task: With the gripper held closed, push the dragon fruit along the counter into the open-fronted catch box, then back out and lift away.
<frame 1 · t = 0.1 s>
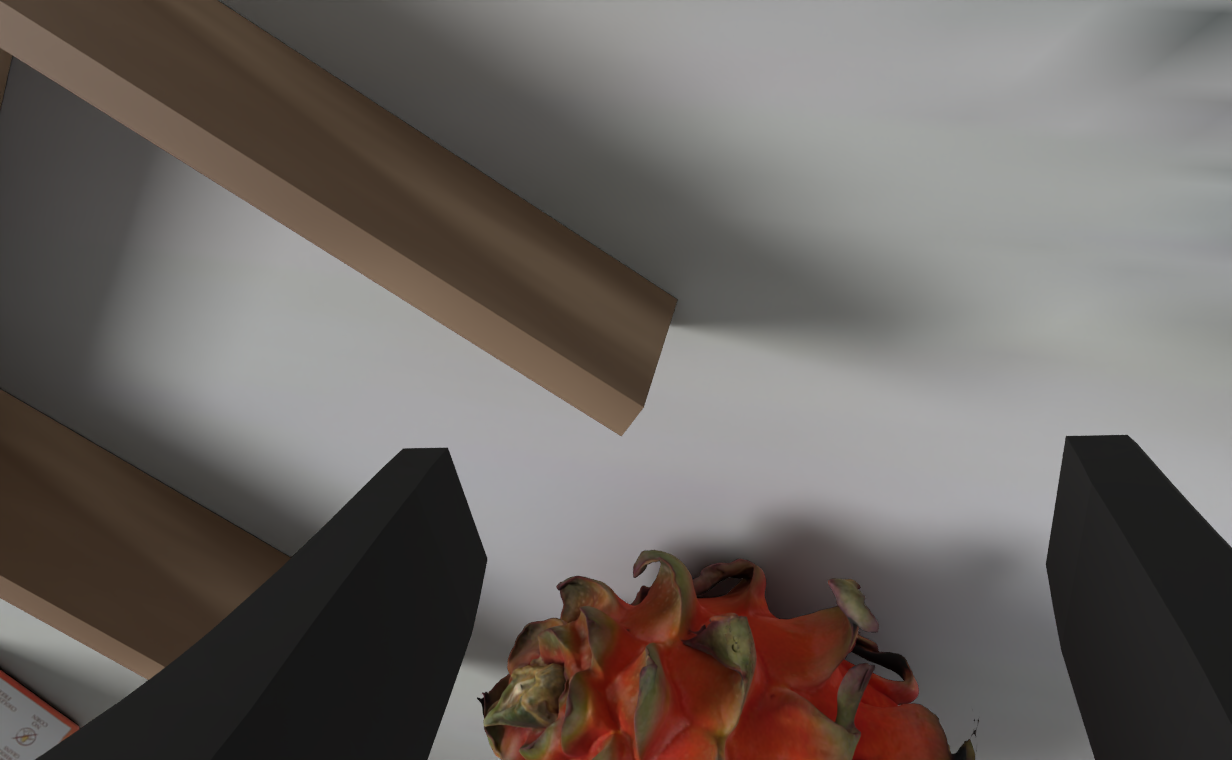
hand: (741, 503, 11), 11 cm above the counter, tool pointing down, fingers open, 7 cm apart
catch box: (254, 334, 24), on the counter
dragon fruit: (733, 618, 26), on the counter
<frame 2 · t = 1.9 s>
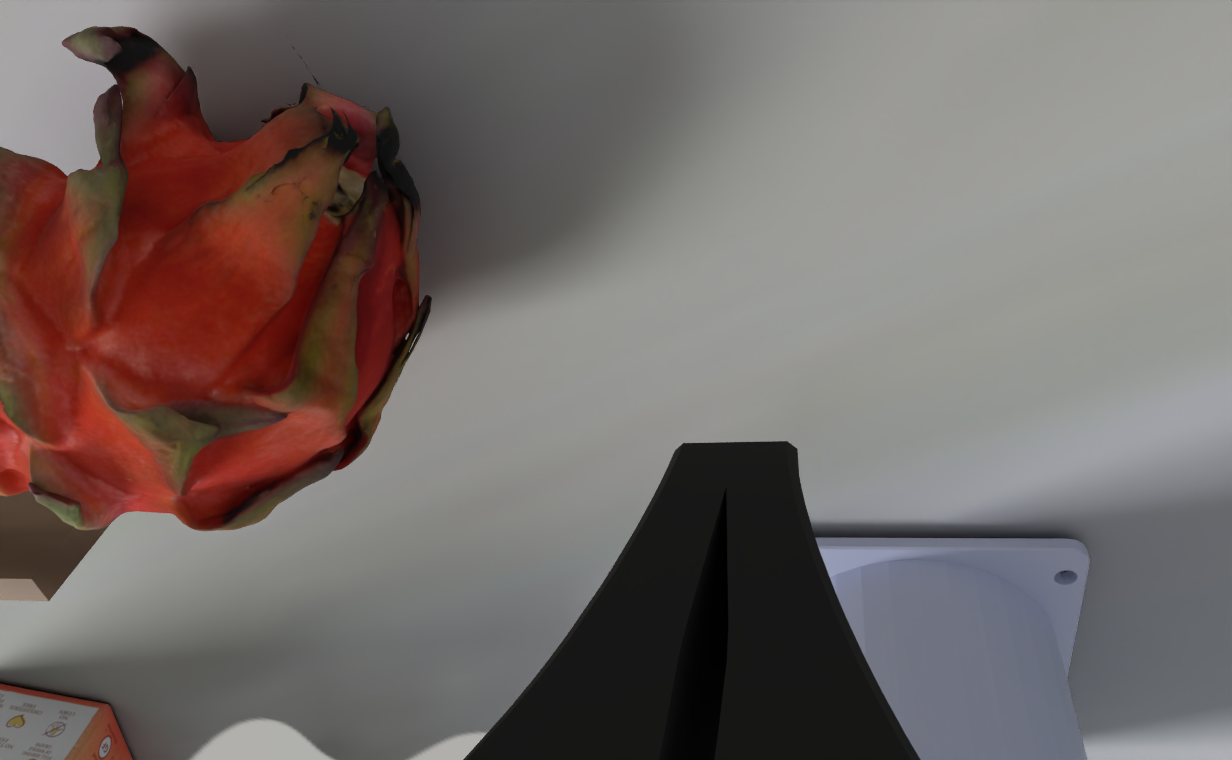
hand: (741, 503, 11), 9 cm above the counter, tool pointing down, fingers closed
dragon fruit: (274, 209, 21), on the counter
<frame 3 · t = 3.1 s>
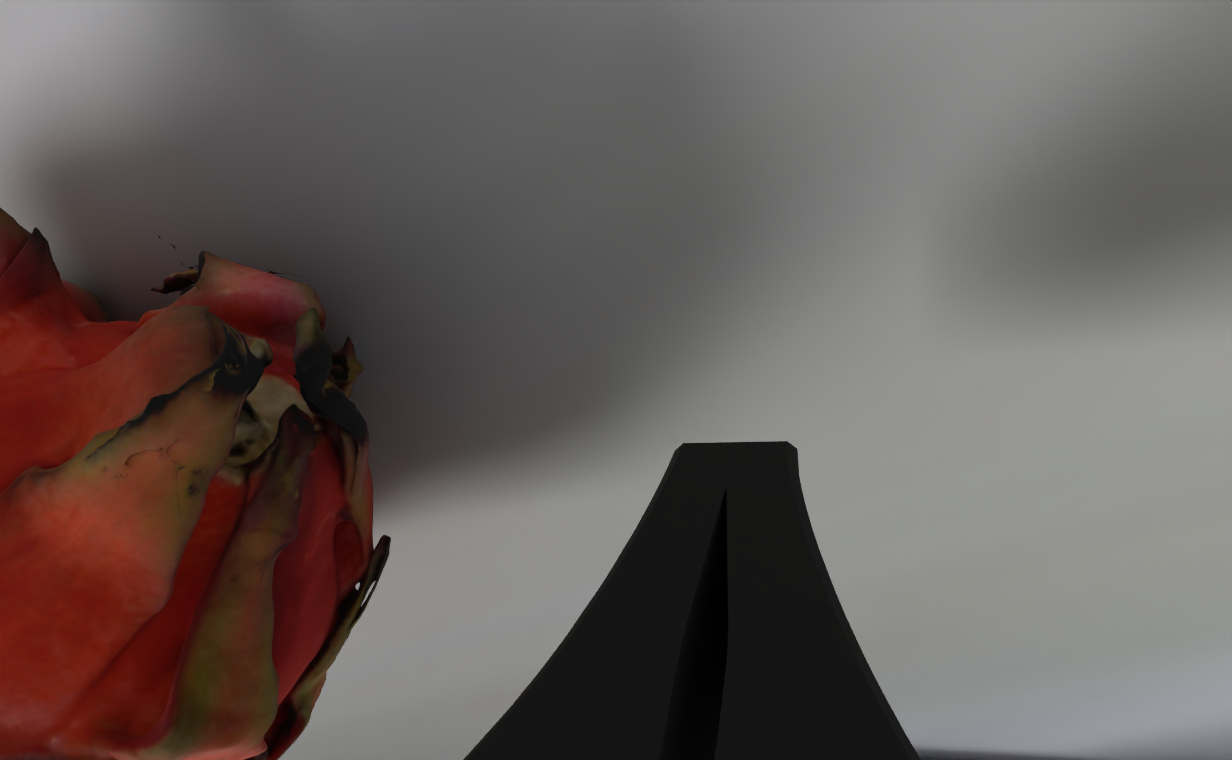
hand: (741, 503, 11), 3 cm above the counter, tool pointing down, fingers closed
dragon fruit: (190, 375, 16), on the counter
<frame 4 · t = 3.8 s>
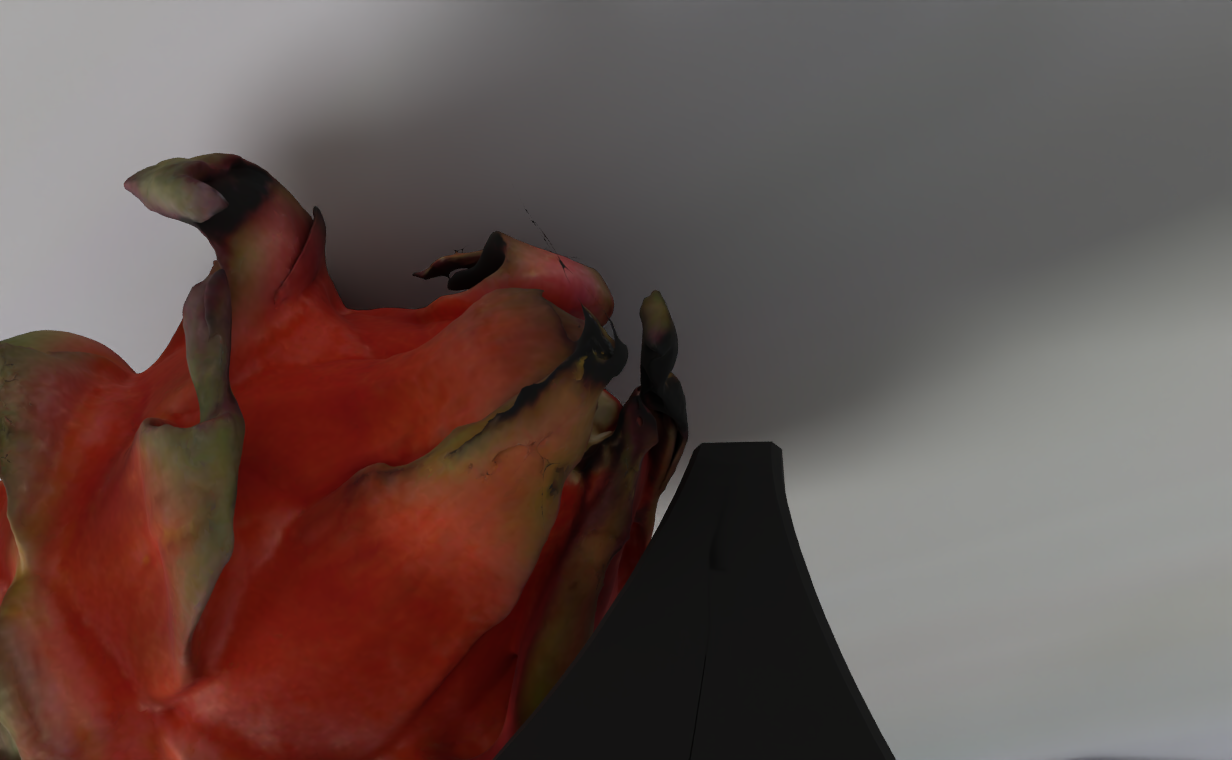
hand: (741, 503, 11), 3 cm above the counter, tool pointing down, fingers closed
dragon fruit: (402, 368, 15), on the counter, touching gripper
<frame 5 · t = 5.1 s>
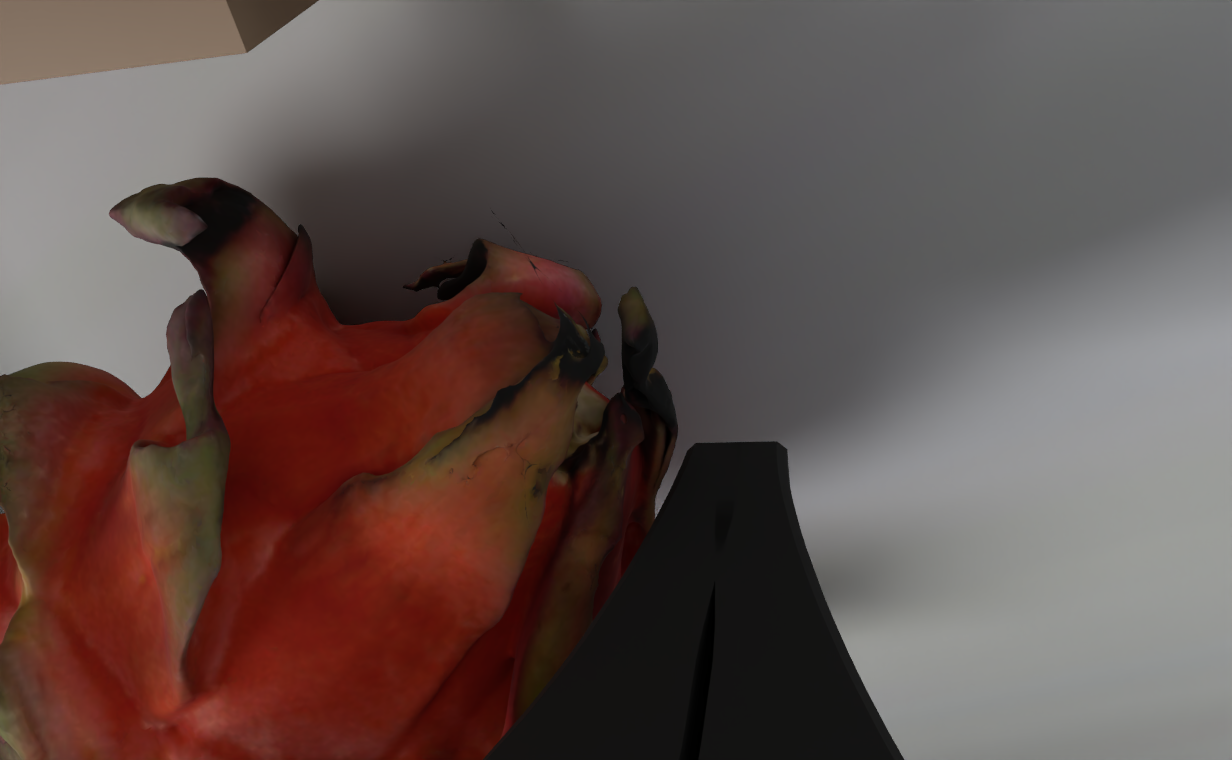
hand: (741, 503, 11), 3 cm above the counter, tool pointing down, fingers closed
catch box: (97, 387, 16), on the counter
dragon fruit: (407, 382, 15), on the counter, touching gripper
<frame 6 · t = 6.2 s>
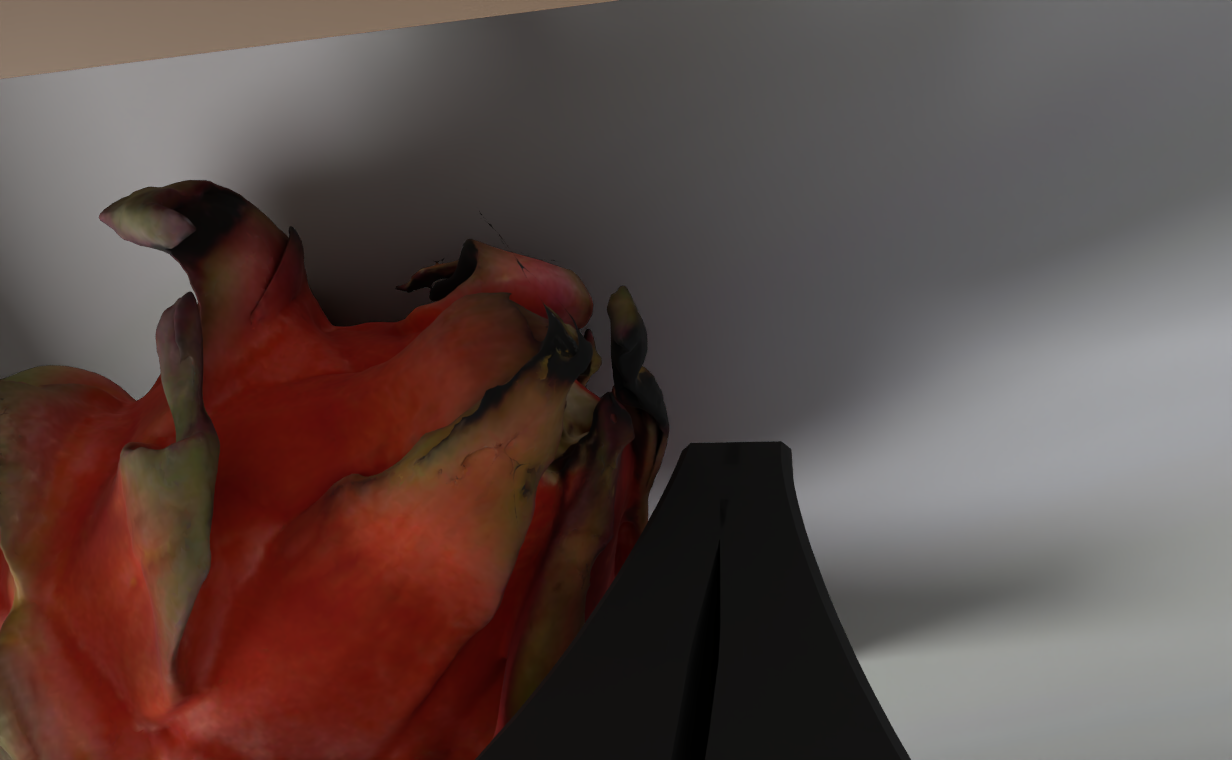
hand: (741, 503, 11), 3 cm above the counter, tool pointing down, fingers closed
catch box: (256, 379, 15), on the counter
dragon fruit: (402, 383, 15), on the counter, touching gripper
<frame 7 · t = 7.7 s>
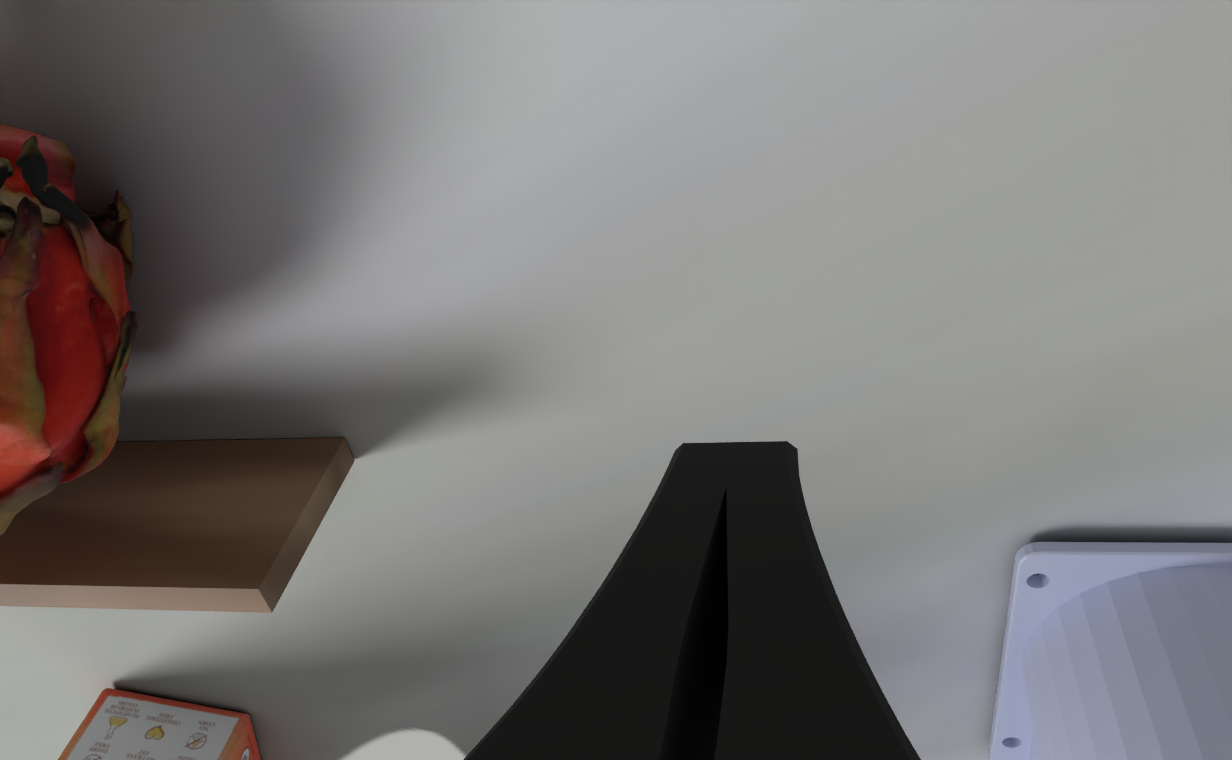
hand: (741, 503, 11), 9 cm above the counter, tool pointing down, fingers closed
dragon fruit: (30, 239, 22), on the counter
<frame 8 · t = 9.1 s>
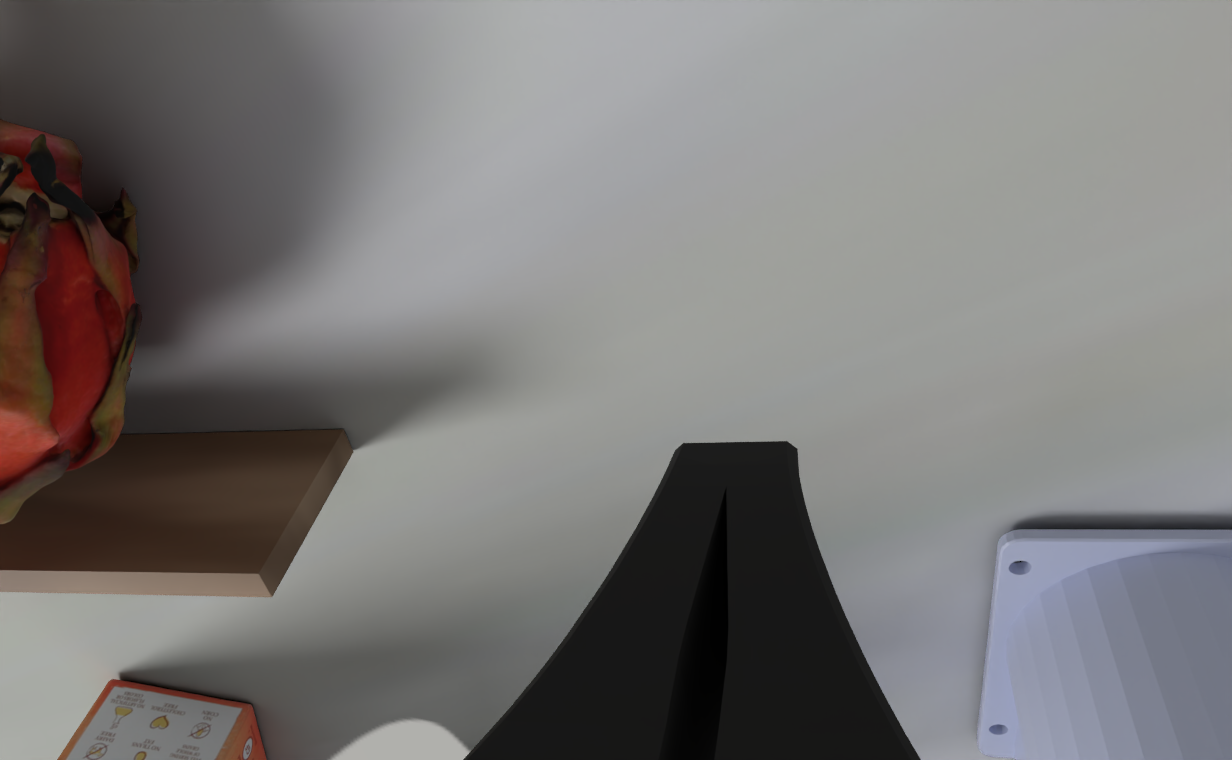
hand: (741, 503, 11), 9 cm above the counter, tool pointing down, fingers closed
dragon fruit: (39, 236, 23), on the counter
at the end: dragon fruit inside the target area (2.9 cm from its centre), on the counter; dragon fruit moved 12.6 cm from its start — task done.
